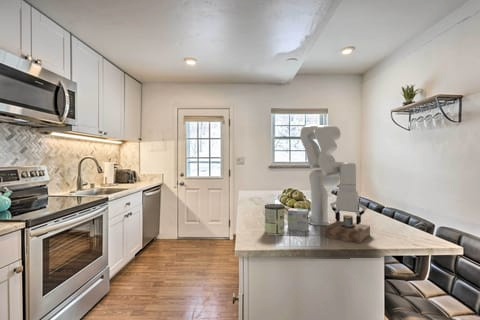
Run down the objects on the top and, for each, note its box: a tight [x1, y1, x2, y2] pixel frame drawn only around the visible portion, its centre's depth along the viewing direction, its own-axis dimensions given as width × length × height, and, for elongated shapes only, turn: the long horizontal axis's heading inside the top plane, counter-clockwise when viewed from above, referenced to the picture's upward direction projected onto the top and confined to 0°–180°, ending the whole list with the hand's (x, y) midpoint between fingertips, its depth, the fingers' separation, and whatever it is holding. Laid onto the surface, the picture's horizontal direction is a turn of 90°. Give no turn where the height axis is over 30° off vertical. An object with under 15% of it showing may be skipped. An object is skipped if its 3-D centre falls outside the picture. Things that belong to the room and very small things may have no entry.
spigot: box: [342, 214, 354, 228], centre depth 130 cm, size 4×4×9 cm
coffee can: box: [264, 203, 286, 236], centre depth 137 cm, size 10×10×14 cm
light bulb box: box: [287, 207, 310, 232], centre depth 144 cm, size 11×7×11 cm, turn 71°
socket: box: [324, 220, 371, 244], centre depth 130 cm, size 16×16×5 cm
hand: (347, 222), depth 130 cm, fingers open, 9 cm apart
